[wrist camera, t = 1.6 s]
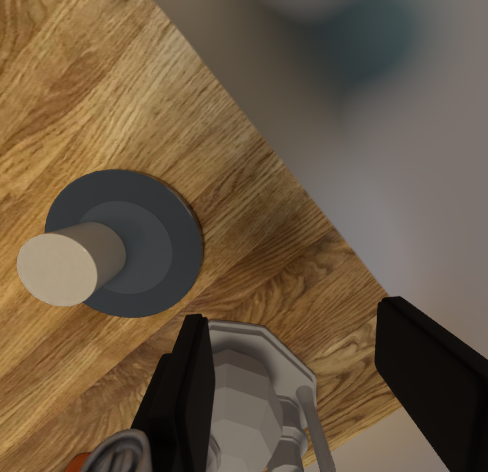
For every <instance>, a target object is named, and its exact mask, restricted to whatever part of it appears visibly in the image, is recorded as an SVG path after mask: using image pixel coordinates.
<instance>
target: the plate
mask: <svg viewBox="0 0 488 472" xmlns="http://www.w3.org/2000/svg"><path fill="white" fill-rule="evenodd" d="M83 222H96V223H100V224H103V225H105V226H107V227H109V228H110V229H112V230H113V231H114V232H115V233H116V234H117V235H118V236H119V237H120V238H121V240H122V242H123V244H124V247H125V251H126V260H125V264H124V267H123V269H122V270H121V271H120V273H119V274H118V275H116V276H115V277H114V278H113V279H111V280H110V281H109V282H108V283H106V284H105V285H104V286H103V287H101V288H100V289H99V290H98V291H96V292H95V293H94V294H93V295H91V296H90V297H89V298H88V299H86V300H85V301H83V303H84V304H86V305H88V306H89V307H91V308H93V309H95V310H97V311H100V312H102V313H105V314H109V315H113V316H118V317H126V318H139V317H146V316H151V315H154V314H158V313H160V312H162V311H165V310H167V309H168V308H170V307H172V306H174V305H175V304H176V303H177V302H179V301H180V300H181V299H182V298H183V297H184V296H185V295H186V294H187V293H188V291H189V290H190V289H191V287H192V286H193V284H194V282H195V280H196V278H197V276H198V273H199V271H200V268H201V265H202V260H203V253H204V242H203V235H202V230H201V227H200V224H199V221H198V219H197V217H196V215H195V213H194V211H193V210H192V208H191V207H190V205H189V204H188V202H187V201H186V200H185V199H184V198H183V196H182V195H181V194H179V193H178V192H177V191H176V190H175V189H174V188H172V187H171V186H170V185H168V184H167V183H165V182H164V181H162V180H160V179H158V178H156V177H154V176H151V175H148V174H146V173H142V172H138V171H131V170H120V169H111V170H101V171H96V172H93V173H89V174H86V175H84V176H82V177H80V178H78V179H76V180H75V181H73V182H72V183H70V184H69V185H68V186H67V187H66V188H64V189H63V190H62V191H61V192H60V194H59V195H58V196H57V198H56V199H55V200H54V202H53V204H52V206H51V208H50V210H49V213H48V216H47V219H46V224H45V233H48V232H51V231H55V230H58V229H62V228H65V227H69V226H72V225H76V224H79V223H83Z"/></svg>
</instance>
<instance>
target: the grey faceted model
mask: <svg viewBox="0 0 488 472" xmlns="http://www.w3.org/2000/svg"><path fill="white" fill-rule="evenodd" d="M208 326H209V333H210V340H211V348H212V355H213V362H214V370H215V393H214V402H213V411H212V420H211V429H210V438H209V447H208V456H207V465H206V472H263V470H264V469H265V467H266V465H267V467H268V472H304V469H303V464H302V460H301V457H302V456H303V455H304V453H305V452H306V451H307V450H308V447H307V444H308V438H307V434H306V432H305V431H304V430H303V429H304V428H306V427H307V426H308V429H309V432H310V436H311V440H312V443H313V447H314V450H315V454H316V458H317V461H318V465H319V468H320V472H336V469H335V465H334V462H333V459H332V456H331V453H330V450H329V447H328V444H327V441H326V438H325V435H324V432H323V429H322V426H321V423H320V420H319V417H318V414H317V411H316V376H315V374H314V373H313V372H312V371H311V370H310V369H309V368H308V367H307V366H306V365H305V364H304V363H303V362H302V361H301V360H300V359H299V358H298V357H297V356H296V355H295V354H294V353H293V352H291V351H290V350H289V349H288V348H287V347H286V346H285V345H284V344H283V343H282V342H281V341H280V340H279V339H278V338H277V337H276V336H275V335H274V334H273V333H272V332H271V331H269V330H268V329H267V328H266V327H265V326H263V325H256V324H249V323H242V322H233V321H223V320H213V319H211V320H210V321H209V322H208Z"/></svg>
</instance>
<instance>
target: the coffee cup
mask: <svg viewBox="0 0 488 472" xmlns="http://www.w3.org/2000/svg"><path fill="white" fill-rule="evenodd" d="M90 454H91V453H83V454H80V455H78V456H76V457H75V458H74V459H73V460H72V461H71V463H70V464H69V466H68V467H67V468H66V470H65V471H64V472H79V471H80V469H81V467H82V465H83V464H84V462H85V460H86V458H87V457H88V456H89V455H90Z"/></svg>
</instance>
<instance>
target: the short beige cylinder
mask: <svg viewBox="0 0 488 472" xmlns="http://www.w3.org/2000/svg"><path fill="white" fill-rule="evenodd" d="M125 260H126V251H125V247H124V244H123V242H122V240H121V238H120V237H119V236H118V235H117V234H116V233H115V232H114V231H113V230H112V229H110V228H109V227H107V226H105V225H103V224H100V223H96V222H83V223H79V224H76V225H72V226H69V227H65V228H62V229H58V230H55V231H51V232H48V233H44V234H41V235H38V236H35V237H33V238H31V239H30V240H28V241H27V242H26V243H25V244H24V245H23V246H22V248H21V249H20V251H19V254H18V257H17V271H18V275H19V277H20V280H21V281H22V283H23V285H24V286H25V288H26V289H27V290H28V291H29V292H30V293H31V294H32V295H33V296H35V297H36V298H38V299H39V300H41V301H43V302H45V303H47V304H51V305H55V306H62V307H63V306H73V305H77V304H79V303H82V302H83V301H85V300H86V299H88V298H89V297H90V296H91V295H93V294H94V293H95V292H96V291H98V290H99V289H100V288H101V287H103V286H104V285H105V284H106V283H108V282H109V281H110V280H111V279H113V278H114V277H115V276H116V275H118V274H119V273H120V271H121V270H122V269H123V267H124V264H125Z"/></svg>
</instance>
